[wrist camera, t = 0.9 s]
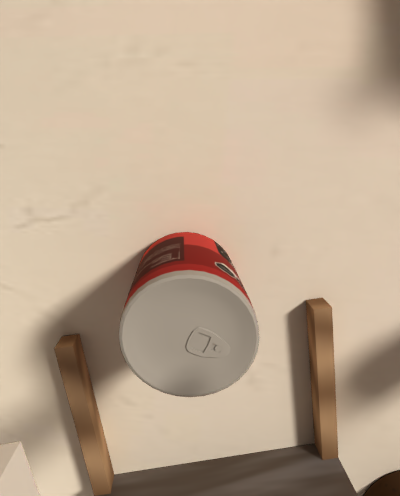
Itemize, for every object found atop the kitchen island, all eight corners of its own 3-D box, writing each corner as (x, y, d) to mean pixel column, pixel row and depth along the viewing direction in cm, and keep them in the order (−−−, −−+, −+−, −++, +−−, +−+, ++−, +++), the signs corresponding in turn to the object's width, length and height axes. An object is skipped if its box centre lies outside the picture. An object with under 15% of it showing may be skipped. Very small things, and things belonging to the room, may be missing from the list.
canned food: (225, 320, 32) (248, 404, 21) (134, 310, 31) (111, 392, 21) (240, 235, 30) (273, 283, 20) (143, 223, 29) (123, 265, 19)
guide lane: (61, 336, 32) (35, 378, 26) (322, 297, 32) (354, 330, 26) (102, 491, 36) (88, 556, 30) (330, 455, 37) (358, 513, 31)
